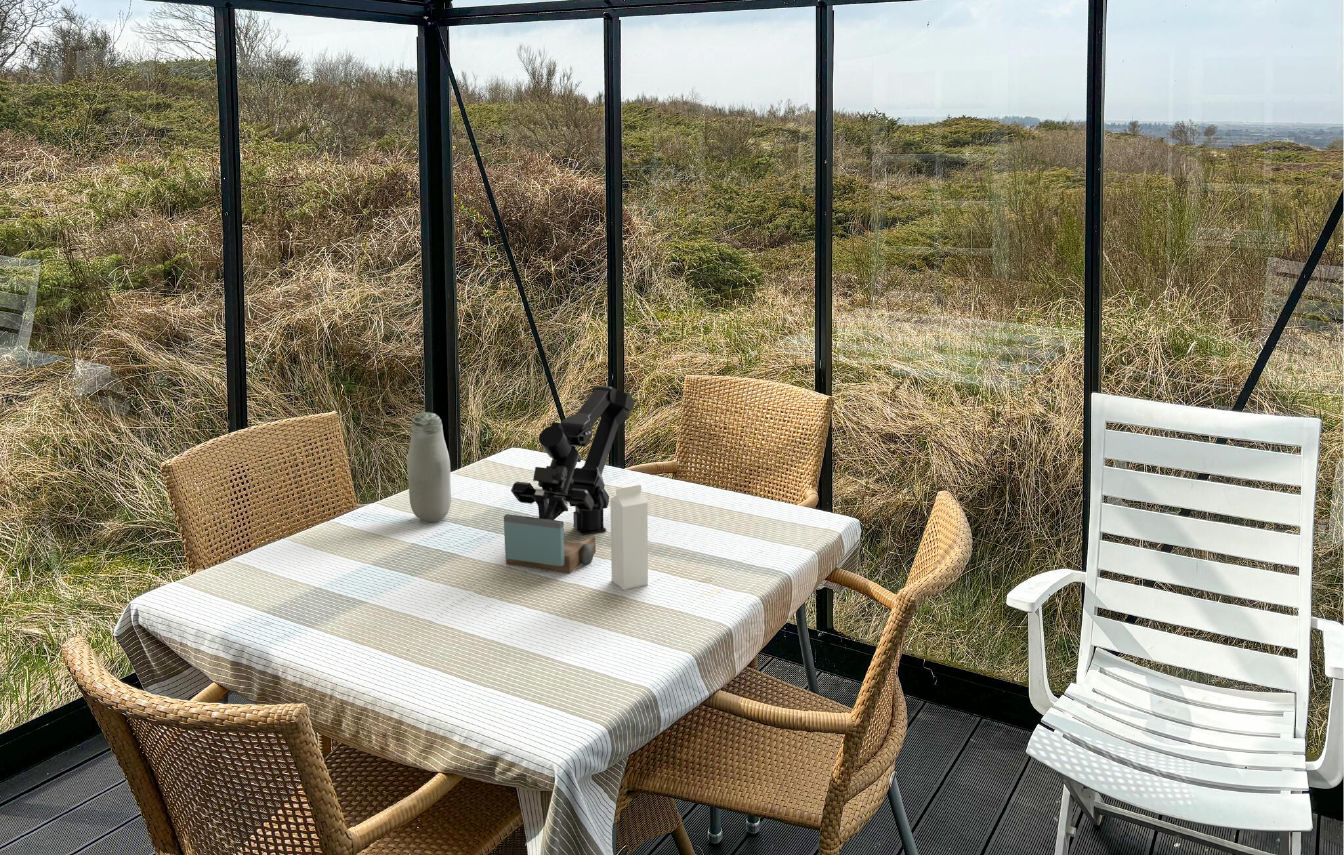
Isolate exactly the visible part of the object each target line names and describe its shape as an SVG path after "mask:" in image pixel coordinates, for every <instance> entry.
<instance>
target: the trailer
mask: <svg viewBox="0 0 1344 855" xmlns="http://www.w3.org/2000/svg"><path fill="white" fill-rule="evenodd" d="M596 544H597V543H596V535H595V536H594V535H590V536H589V537H587V538H586V539H585V540H583V541H582V542H580V541H572V540H565V539H564V565H563V566H555V565H549V564H542V563H535V562H528V561H521V560H514V559H507V558H505V564H506V565H509V566H516V567H517V566H518V567H523V568H529V569H530V568H531V569H536V570H543V571H550V572H555V573H556V572H557V573H563V574H564V573H565V574H569V575H570V574H571V573H572V572H574V571H575V570H576V569H577V568H578V567H579V566H581V565H582V564H583V565H590V564H591V563H592V561H593V559H594V554H596V552H597V551H596V546H597V545H596Z"/></svg>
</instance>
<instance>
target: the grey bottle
mask: <svg viewBox="0 0 1344 855" xmlns="http://www.w3.org/2000/svg"><path fill="white" fill-rule="evenodd" d="M410 429H411V433H410V434H411V435H410V443H409V447H408V451H407V458H406V470H407V471H406V472H407V481H408V483H407V484H408V493H409V494H408V495H409V496H408V497H409V505H410V508H411V511H412V512H413V514H414V516H415V517H416V518H417V519H419V520H420V521H423V522H428V523H433V522H439V521H441V520H442V519H444V518H445V517H446V516H447V515H448V513H449V511H450V508H451V504H452V489H451V488H452V487H451V460H450V455H449V451H448V448H447V443H446V440H445V437H444V436H445V435H444V429H443V423H442V419H441V418H440V416H439V415H438V414H436V413H433V412H430V411H426V412H419V413H417V414H416V415H415V416H414V417H413V419H412V422H411V428H410Z"/></svg>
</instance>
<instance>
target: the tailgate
mask: <svg viewBox="0 0 1344 855" xmlns="http://www.w3.org/2000/svg"><path fill="white" fill-rule="evenodd" d="M564 524H565V523H564V521H563V520H556V519H554V520H549V519H541V518H539V517H533V516H526V515H525V516H524V515H519V514H518V515H517V514H508V513H507V514H505V515H504V516H503V531H504V533H503V534H504V554H505V557H504V558H505V559H506V558H507V559H514V560H521V561H528V562H535V563H542V564H549V565H555V566H563V565H564V540H565V538H564V537H565V535H564V530H565V529H564V527H565V525H564Z"/></svg>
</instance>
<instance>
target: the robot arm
mask: <svg viewBox="0 0 1344 855" xmlns="http://www.w3.org/2000/svg"><path fill="white" fill-rule="evenodd" d="M634 404H635V401H634V397H633V396H631V393H630V392H627V391H626V392H625V391H622V390H618V389H616V388H615V387H612V386H607V385H606V386H605V385H597V386H594V387H593V388H592V391H591V394H590V395H589V397H587V399H586V400H585V402H584V403H583V404H582V406H580V408H579V409H578V411H577V412H576V413H575V414H572V415H570V416H567V417H565V418H564V419H563V420H562V421H561V422H558V421H557V422H556V421H555V422H554V421H553V422H551V425H550V426H549V425H548V426H547V427H546V428H544V429H543V430H542V431H541V432H540V433H539V436H538V441H539V444H540V445H541V446H542V448H543V449H544V451H545V452H546V454H547V455H548V456H549V457H550V458H551V461H550V464H549V465H547V466H546V467H542V466H541V467H540V466H535V467H534V468H535V469H534V472H533V478H532V482H538V483H537V486H539V488H535V487H534V486H533V485H532V483H531V482H525V481H524V482H523V481H515V482H514V483H513V484H512V485H511V486H512V487H511V489H510V492H511V493H512V495H513V496H514V497H515V498H516V500H517V501H518V502H519V503H522V504H530V505H532V504H534V503H536V505H537V509H538V518H541V519H549V520H556V518H558V517H559V516H561V515H562V514H563V513H564V512H569V507H574V508H575V509H574V510H575V511H574V512H572V513H573V514H572V515H573V517H572V518H573V526H572V527H573V528H574V529H575V530H576V531H577V532H578V533H579V534H580V535H588V534H594V533H596V534H597V533H603V532H607V528H606V527H605V526H604V510H605V509H607V508H608V506H609V503H610V496H609V494H608V492H607V491H606V489H605V486H606V485H605V482H604V481H605V480H604V478H603V476H602V475H603V471H604V468H605V465H606V464H607V460H608V457H609V455H610V452H611V449H612V446H613V443H614V441H615V437H616V434H617V432H618V429H619V426H620V425H622V424H624V422H626V421H627V420H628V418H629V417H630V414H631V412H632V411H633V409H634V407H635V405H634ZM599 418H600V419H599ZM598 420H599V422H598V425H597V428H596V431H595V434H594V436H593V430H592V429H593V427H594V426H595V423H596V422H597V421H598ZM592 437H593V438H592ZM591 439H592V442H591ZM590 442H591V445H590V447H589V450H588V453H587V456H586V459H585V461H584V463H583V465H582V467H577V463H581V462H582V458H581V455H580V452H579V450H578V449H577V448H576V447H579V448H580V447H581V448H585V447H587V445H588V444H589V443H590ZM568 506H569V507H568Z"/></svg>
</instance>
